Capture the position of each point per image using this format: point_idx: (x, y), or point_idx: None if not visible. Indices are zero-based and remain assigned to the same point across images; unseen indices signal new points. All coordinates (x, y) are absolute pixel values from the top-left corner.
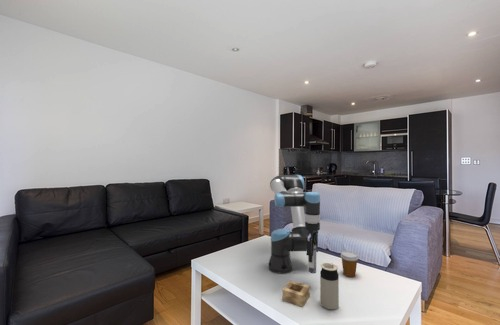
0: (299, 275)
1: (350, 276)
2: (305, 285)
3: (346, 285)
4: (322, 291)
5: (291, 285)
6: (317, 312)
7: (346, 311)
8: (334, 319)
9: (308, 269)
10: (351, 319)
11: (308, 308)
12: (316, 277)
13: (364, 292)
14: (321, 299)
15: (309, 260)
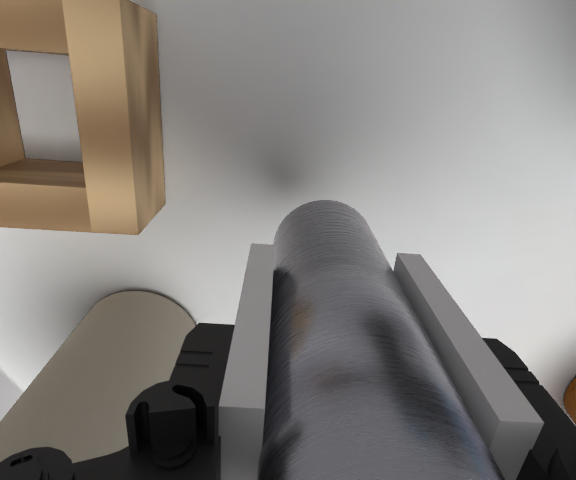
0: (489, 10)
1: (567, 405)
2: (118, 195)
3: None
4: (32, 382)
5: (13, 48)
6: (10, 291)
7: None
8: (20, 379)
9: (304, 213)
10: None
11: (7, 232)
12: (494, 186)
13: None
14: (80, 324)
15: (183, 358)
